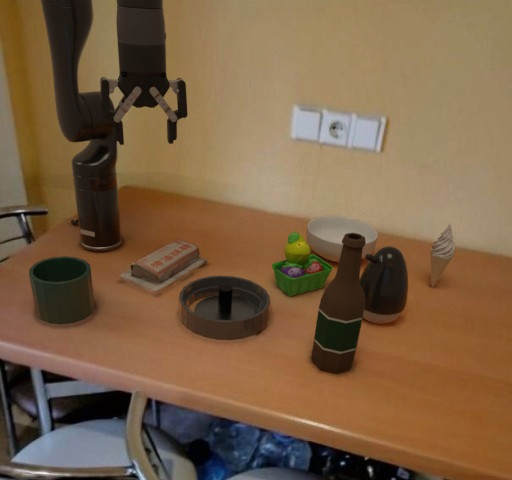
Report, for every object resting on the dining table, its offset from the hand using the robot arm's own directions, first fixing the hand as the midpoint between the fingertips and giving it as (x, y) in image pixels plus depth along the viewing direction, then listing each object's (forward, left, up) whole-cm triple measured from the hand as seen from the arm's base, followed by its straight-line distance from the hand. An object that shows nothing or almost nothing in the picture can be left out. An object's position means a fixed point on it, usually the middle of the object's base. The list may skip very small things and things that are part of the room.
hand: (146, 143), depth 98 cm
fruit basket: (+3, +31, -30) cm, 43 cm away
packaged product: (-8, +4, -30) cm, 32 cm away
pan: (+12, +12, -30) cm, 35 cm away
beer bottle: (+30, +27, -30) cm, 50 cm away
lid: (+12, +12, -29) cm, 34 cm away
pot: (+4, -17, -30) cm, 35 cm away
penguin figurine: (+18, +42, -30) cm, 55 cm away
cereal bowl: (-9, +46, -30) cm, 56 cm away
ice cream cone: (+9, +61, -30) cm, 69 cm away
